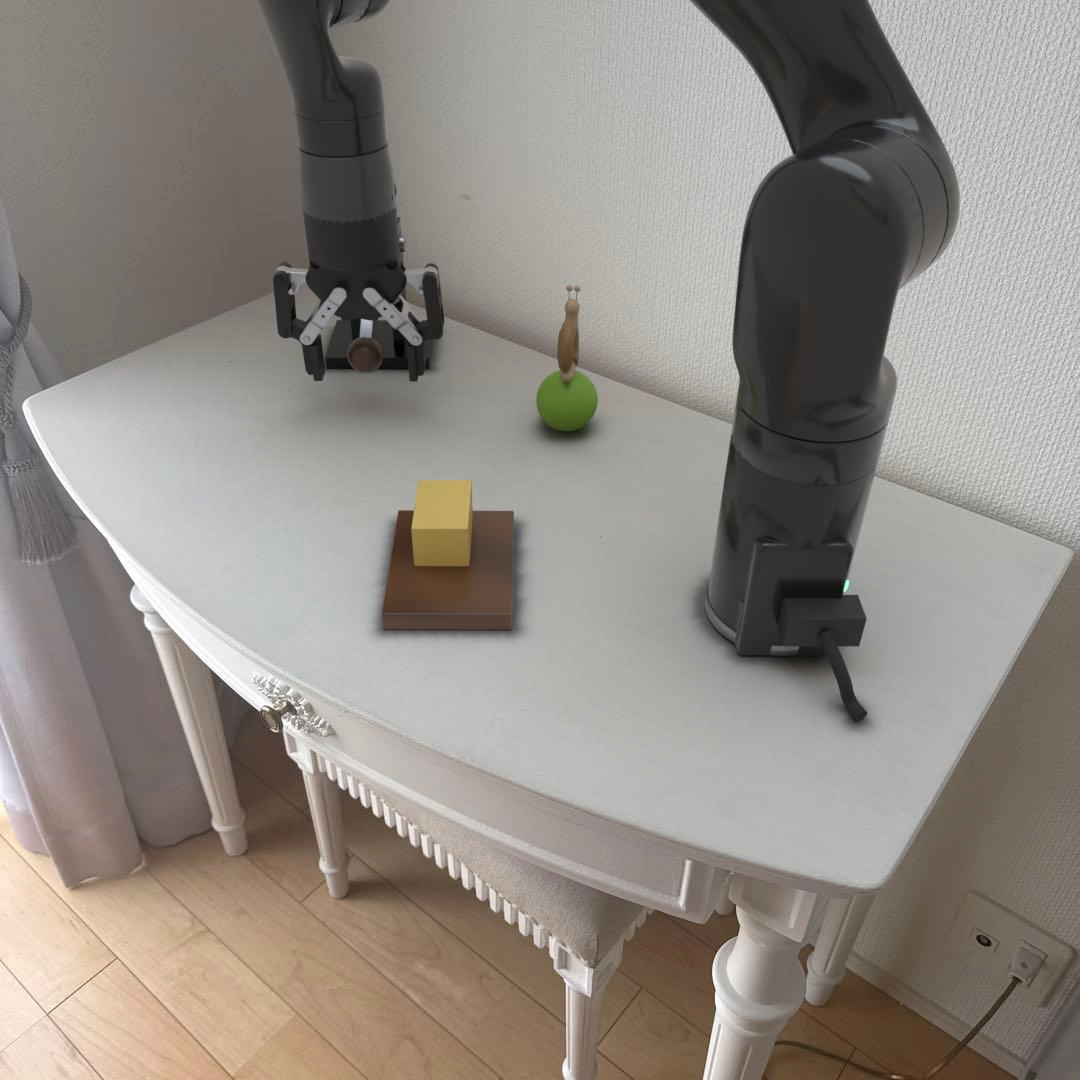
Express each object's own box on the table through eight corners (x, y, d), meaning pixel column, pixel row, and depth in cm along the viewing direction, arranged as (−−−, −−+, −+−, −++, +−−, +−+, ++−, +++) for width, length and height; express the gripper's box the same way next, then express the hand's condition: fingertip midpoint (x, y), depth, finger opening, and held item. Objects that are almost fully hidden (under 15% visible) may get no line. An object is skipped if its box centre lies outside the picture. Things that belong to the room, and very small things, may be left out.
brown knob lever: (384, 379, 95) (379, 361, 92) (348, 379, 95) (343, 360, 92) (392, 242, 100) (388, 220, 97) (359, 242, 100) (354, 220, 97)
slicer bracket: (429, 369, 102) (421, 242, 94) (326, 368, 102) (310, 242, 94) (434, 331, 108) (428, 209, 100) (338, 330, 108) (323, 208, 100)
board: (512, 630, 73) (512, 614, 72) (382, 629, 73) (381, 613, 72) (513, 525, 82) (513, 510, 82) (399, 525, 82) (398, 509, 81)
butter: (469, 566, 76) (467, 528, 74) (414, 566, 76) (411, 528, 74) (472, 517, 81) (471, 480, 79) (421, 516, 81) (418, 479, 79)
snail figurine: (598, 407, 97) (605, 285, 89) (594, 444, 92) (601, 319, 84) (540, 403, 97) (542, 282, 90) (532, 440, 92) (534, 315, 85)
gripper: (250, 217, 81) (280, 398, 91) (433, 218, 82) (443, 399, 92) (269, 183, 87) (295, 357, 97) (440, 184, 88) (448, 357, 98)
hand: (367, 377), depth 95 cm, fingers open, 8 cm apart
